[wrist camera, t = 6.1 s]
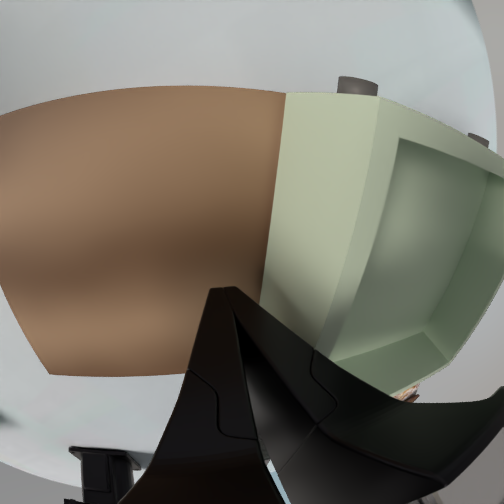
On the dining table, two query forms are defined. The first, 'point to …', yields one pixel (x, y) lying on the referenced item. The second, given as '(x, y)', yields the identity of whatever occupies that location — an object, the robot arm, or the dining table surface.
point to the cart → (382, 234)
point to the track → (133, 219)
